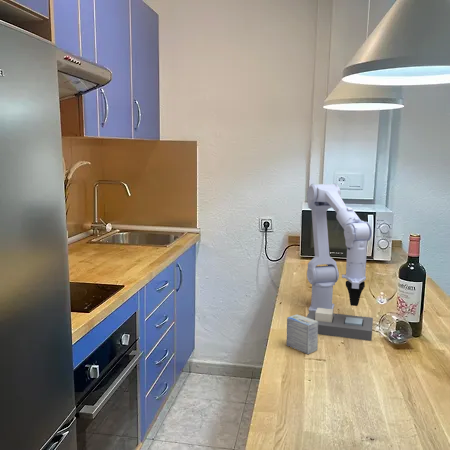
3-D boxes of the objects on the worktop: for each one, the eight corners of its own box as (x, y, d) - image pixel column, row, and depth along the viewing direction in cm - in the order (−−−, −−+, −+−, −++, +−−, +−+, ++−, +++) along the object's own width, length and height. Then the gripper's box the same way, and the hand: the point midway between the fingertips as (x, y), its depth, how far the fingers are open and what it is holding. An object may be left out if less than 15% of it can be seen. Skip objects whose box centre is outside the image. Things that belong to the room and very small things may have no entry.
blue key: (345, 326, 147) (346, 316, 147) (362, 327, 146) (362, 318, 145) (344, 331, 143) (344, 322, 142) (361, 333, 141) (361, 324, 141)
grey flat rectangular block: (309, 319, 154) (309, 310, 154) (372, 326, 148) (372, 317, 148) (303, 332, 143) (303, 322, 143) (371, 340, 137) (371, 331, 136)
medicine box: (317, 350, 130) (319, 321, 129) (307, 355, 127) (308, 324, 126) (296, 342, 136) (296, 313, 135) (285, 346, 133) (286, 317, 132)
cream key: (317, 316, 150) (317, 307, 149) (333, 318, 148) (333, 309, 148) (315, 321, 145) (315, 312, 145) (331, 323, 144) (331, 314, 143)
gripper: (343, 256, 149) (341, 297, 151) (342, 266, 135) (339, 311, 137) (366, 257, 147) (363, 298, 149) (367, 268, 133) (364, 313, 135)
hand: (354, 305), depth 143 cm, fingers closed
